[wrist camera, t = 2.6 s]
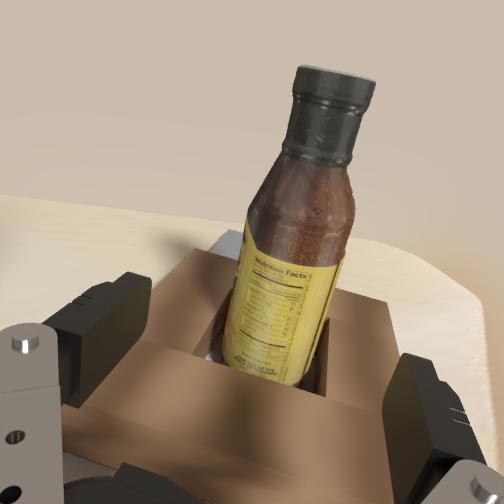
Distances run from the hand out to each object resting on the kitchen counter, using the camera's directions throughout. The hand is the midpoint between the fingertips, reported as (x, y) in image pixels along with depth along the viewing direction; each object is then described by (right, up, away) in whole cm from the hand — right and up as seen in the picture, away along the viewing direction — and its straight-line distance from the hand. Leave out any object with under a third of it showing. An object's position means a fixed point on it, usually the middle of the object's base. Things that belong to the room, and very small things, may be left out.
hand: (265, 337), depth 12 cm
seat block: (0, -6, +16) cm, 17 cm away
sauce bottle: (0, -6, +16) cm, 17 cm away
